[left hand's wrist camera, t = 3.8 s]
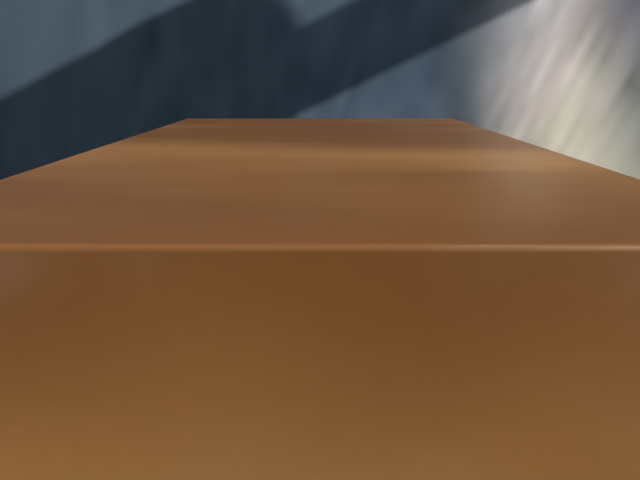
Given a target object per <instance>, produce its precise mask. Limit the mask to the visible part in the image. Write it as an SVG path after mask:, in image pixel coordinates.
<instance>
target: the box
mask: <svg viewBox="0 0 640 480" xmlns="http://www.w3.org/2000/svg"><path fill="white" fill-rule="evenodd" d="M0 480H640V180H639V179H636V178H633V177H630V176H627V175H624V174H621V173H618V172H615V171H612V170H608V169H605V168H602V167H599V166H596V165H593V164H590V163H587V162H584V161H581V160H578V159H575V158H572V157H569V156H566V155H563V154H560V153H556V152H553V151H550V150H547V149H544V148H541V147H538V146H535V145H532V144H529V143H526V142H523V141H520V140H517V139H514V138H511V137H508V136H504V135H501V134H498V133H495V132H492V131H489V130H486V129H483V128H480V127H477V126H474V125H471V124H468V123H465V122H462V121H459V120H456V119H222V118H188V119H184V120H181V121H178V122H175V123H172V124H169V125H166V126H163V127H160V128H157V129H154V130H151V131H148V132H145V133H142V134H139V135H136V136H133V137H130V138H126V139H123V140H120V141H117V142H114V143H111V144H108V145H105V146H102V147H99V148H96V149H93V150H90V151H87V152H84V153H81V154H78V155H75V156H72V157H68V158H65V159H62V160H59V161H56V162H53V163H50V164H47V165H44V166H41V167H38V168H35V169H32V170H29V171H26V172H23V173H20V174H17V175H14V176H10V177H7V178H4V179H1V180H0Z"/></svg>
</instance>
